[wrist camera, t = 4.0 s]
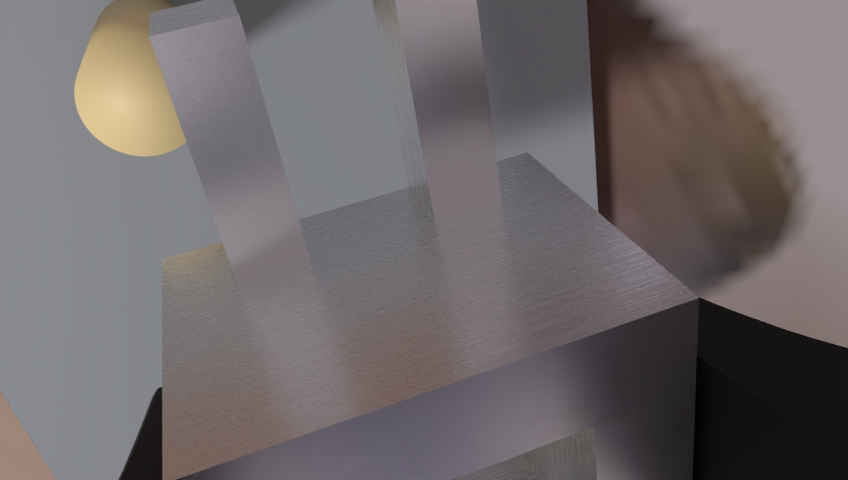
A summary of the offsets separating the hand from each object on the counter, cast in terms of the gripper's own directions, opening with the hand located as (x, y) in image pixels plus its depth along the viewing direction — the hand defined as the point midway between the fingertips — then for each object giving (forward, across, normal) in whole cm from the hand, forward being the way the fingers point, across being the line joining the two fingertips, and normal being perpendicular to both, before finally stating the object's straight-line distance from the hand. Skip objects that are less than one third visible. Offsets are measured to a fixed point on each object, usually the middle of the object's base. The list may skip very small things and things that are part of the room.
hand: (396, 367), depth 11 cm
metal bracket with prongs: (+1, 0, -1) cm, 1 cm away
